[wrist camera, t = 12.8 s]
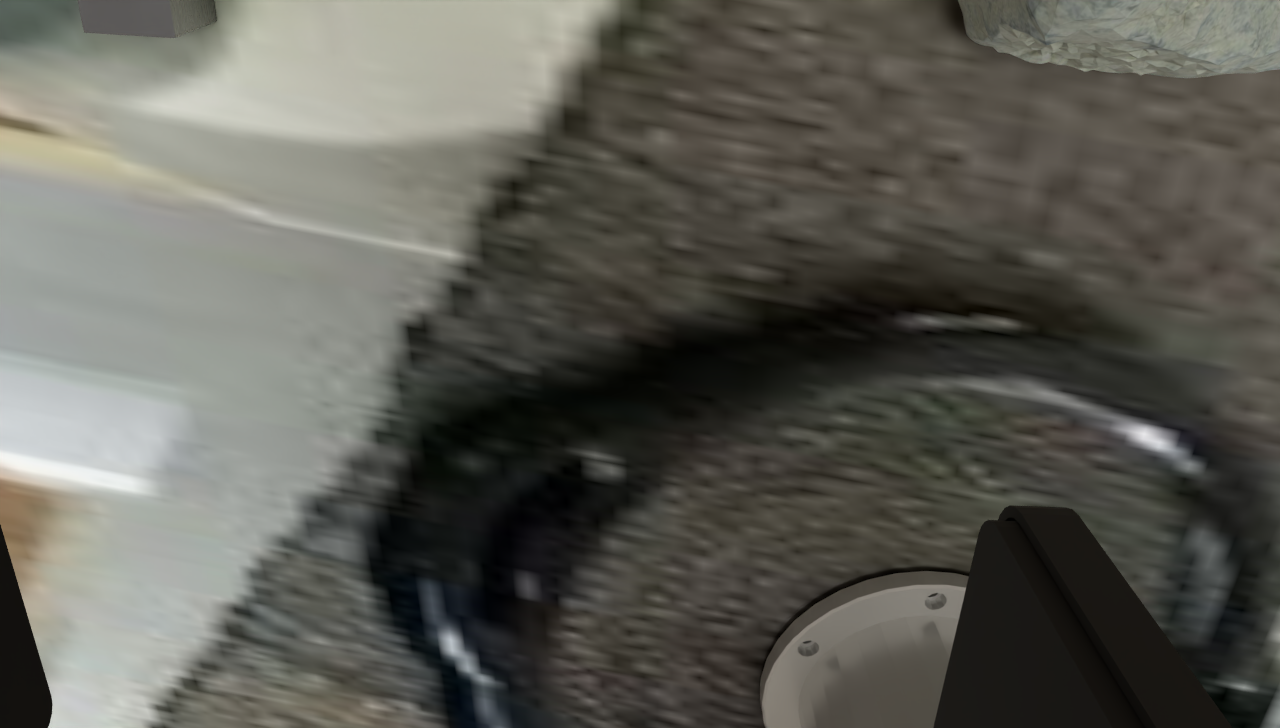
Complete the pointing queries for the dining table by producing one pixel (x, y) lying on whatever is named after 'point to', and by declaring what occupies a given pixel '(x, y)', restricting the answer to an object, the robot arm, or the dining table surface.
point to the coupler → (146, 16)
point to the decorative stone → (1133, 34)
